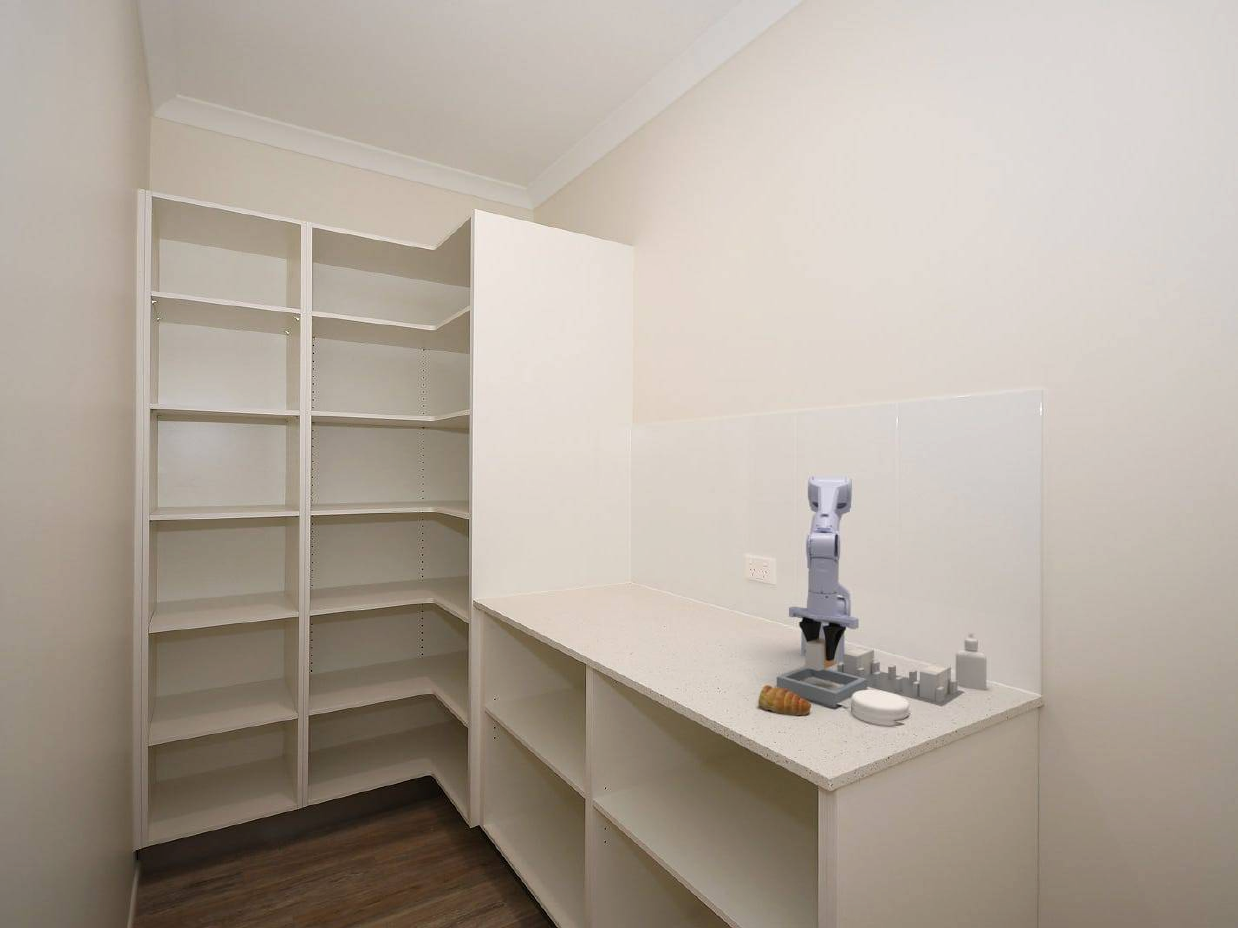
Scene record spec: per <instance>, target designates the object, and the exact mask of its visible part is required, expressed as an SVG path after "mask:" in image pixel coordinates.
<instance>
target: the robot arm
mask: <svg viewBox="0 0 1238 928" xmlns="http://www.w3.org/2000/svg"><path fill="white" fill-rule="evenodd" d="M807 481H808V482H807V499H808V504H809V508H810V510H811V511H812V512H814V514H813V516H812V519H811V525H810V532H809V533H810V534H807V536H806V540H805V546H806V547H805V554H806V560H807V565H806V567H807V569H808V581H807V583H808V584H807V585H808V586H807V588H808V590H807V597H806V598H807V599H806V607H800V606H790V607H788V617H790V618H798V619H801V621H799V622H798V626H799V628H800V629H801V634H800V635H801V638H800V639H801V641H800V642H801V643H800V646H801V647H800V648H801V650H800V651H801V652H800V653H801V654H800V655H801V656H804V657H805V651H806V642H809V641H812V640H815V639H818V638H822V637H825V642H826V660H827V661H831V660H834V657H835V653H836V649H837V646H838V643H839V663H842V662H843V654H844V653H845V631H846V630H847V628H848V629H850V630H857V629H859V618H858V617H854V616H851V612H852V610H851V608H852V607H851V604H852V603H851V602H852V601H851V593H850V591H849V590H848V589H847V587H845V586H843V585H842V584H841V583H840V582H839V572H840V571H839V570H840V569H839V567H840V563H839V562H840V558H841V537H840V524H841V523H840V522H841V520H842V517H843V515H844V514H847V513H850V511H851V508H852V498H853V494H852V489H853V487H852V485H853V484H852V483H853V481H852V478H851V477H850V476H847V477H829V476H827V477H826V476H824V477H823V476H810V477H809V478H808V480H807ZM841 596H842V597H841Z"/></svg>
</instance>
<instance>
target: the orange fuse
mask: <svg viewBox="0 0 1238 928" xmlns="http://www.w3.org/2000/svg"><path fill="white" fill-rule="evenodd" d="M804 657H805V659H804V660H805V663H804V664H805V668H809V669H813V670H817V671H820V670H823V669H825V668H826V669H829V668H830V667H832V666H835V665H837V664H840V662H839V643H838V646H837V649H836V653H835V657H834V660H831V661H827V660H826V642H825V637H822V638H818V639H815V640H812V641H809V642H806V651H805V656H804Z"/></svg>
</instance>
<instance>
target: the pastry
mask: <svg viewBox="0 0 1238 928" xmlns="http://www.w3.org/2000/svg"><path fill="white" fill-rule="evenodd" d="M757 703H758V705H759V706H760V707H761V708H762V709H763V710H765V711H768V710H770V711H771V712H773V713H777V714H783V715H787V716H805V715H808V714H809V713H810V711H811V707H812V704H811V703H810V701H807V700H806V699H804V698H803V697H801V696H799V695H797V694H796V693H793V692H791V691H789V690H788V689H781V688H780V687H777V686H774V687H773V686H771V685H767V684H766V685H764V686H763V687H762V689H761V691H760V693H759V696H758V701H757Z"/></svg>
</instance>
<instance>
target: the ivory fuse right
mask: <svg viewBox="0 0 1238 928" xmlns="http://www.w3.org/2000/svg"><path fill="white" fill-rule="evenodd" d="M951 680H952V666H949V665H944V664H941V663H940V664H939V663H933V664H931V665H930V666H927V667H925V668H923V669H921V670H919V681H920V696H919V697H923V698H926V699H930V700H934V701H936V689H937V688H939V687H944V695H946V694H947V693H949V692H950V681H951Z"/></svg>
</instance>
